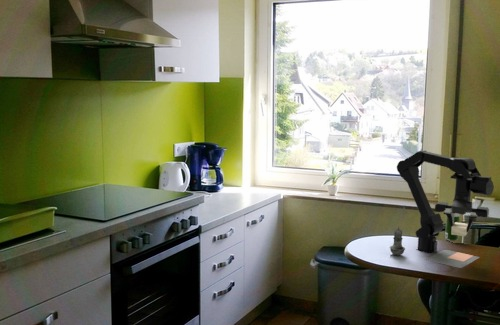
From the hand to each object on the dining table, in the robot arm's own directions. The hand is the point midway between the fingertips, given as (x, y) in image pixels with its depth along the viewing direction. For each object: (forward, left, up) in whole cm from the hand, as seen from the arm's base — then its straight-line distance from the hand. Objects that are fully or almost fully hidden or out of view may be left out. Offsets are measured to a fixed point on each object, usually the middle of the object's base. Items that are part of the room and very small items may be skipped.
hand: (460, 231), depth 200 cm
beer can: (-14, +26, -12) cm, 31 cm away
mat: (-2, -1, -11) cm, 12 cm away
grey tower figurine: (-19, -13, -12) cm, 26 cm away
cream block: (0, 0, -1) cm, 1 cm away
